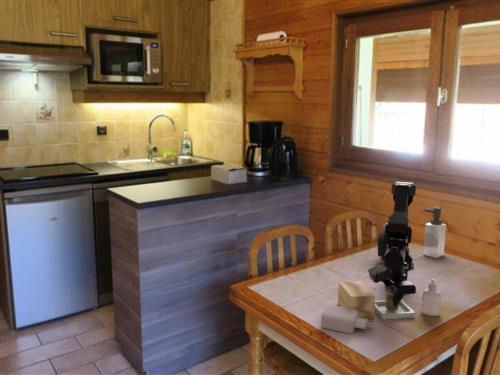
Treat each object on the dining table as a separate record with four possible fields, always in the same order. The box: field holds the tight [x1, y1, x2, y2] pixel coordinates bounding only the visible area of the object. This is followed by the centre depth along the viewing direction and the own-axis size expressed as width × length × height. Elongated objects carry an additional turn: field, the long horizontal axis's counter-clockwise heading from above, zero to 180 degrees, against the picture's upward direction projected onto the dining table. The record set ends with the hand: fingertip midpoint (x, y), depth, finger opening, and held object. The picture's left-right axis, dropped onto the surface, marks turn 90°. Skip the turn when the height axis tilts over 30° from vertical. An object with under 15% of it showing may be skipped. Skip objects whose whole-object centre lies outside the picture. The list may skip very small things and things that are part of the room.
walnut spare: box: [385, 285, 398, 310], centre depth 153 cm, size 4×4×7 cm
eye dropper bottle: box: [420, 278, 442, 317], centre depth 151 cm, size 4×6×12 cm
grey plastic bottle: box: [320, 304, 375, 335], centre depth 143 cm, size 5×9×15 cm
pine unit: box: [337, 280, 376, 320], centre depth 153 cm, size 8×12×8 cm, turn 8°
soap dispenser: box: [422, 206, 447, 259], centre depth 208 cm, size 6×9×22 cm
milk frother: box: [377, 224, 415, 266], centre depth 199 cm, size 14×16×15 cm
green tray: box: [374, 299, 416, 321], centre depth 153 cm, size 11×10×2 cm
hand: (392, 303), depth 153 cm, fingers closed on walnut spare, 4 cm apart
